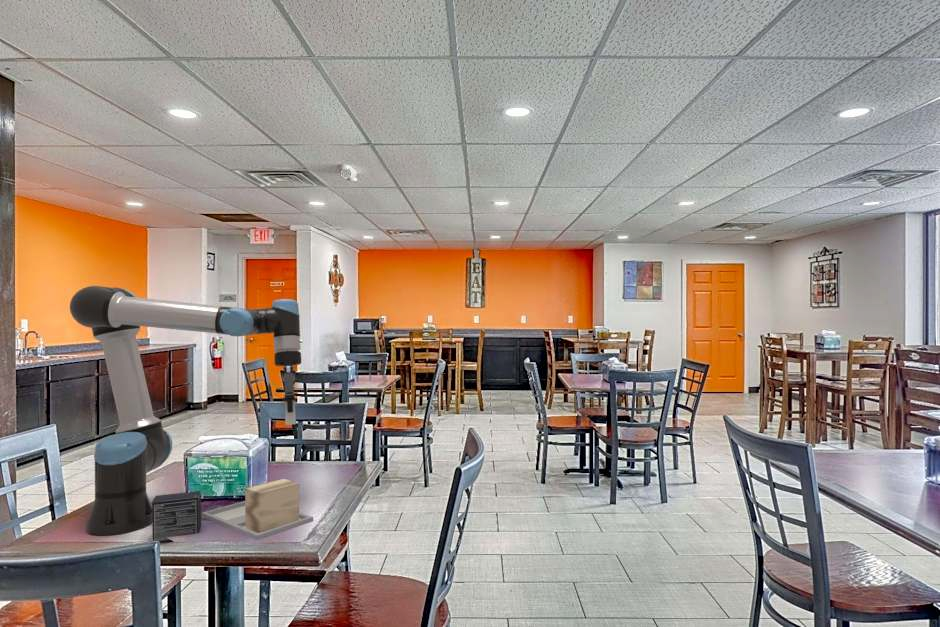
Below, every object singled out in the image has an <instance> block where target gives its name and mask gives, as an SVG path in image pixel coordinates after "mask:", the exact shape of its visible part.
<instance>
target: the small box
mask: <svg viewBox="0 0 940 627" xmlns="http://www.w3.org/2000/svg"><path fill="white" fill-rule="evenodd" d="M151 506H152V523H151V524H152V527H151V528H152V531H151V532H152V534H151V536H152V541H159V542H160V543H161V544H160V545H162V543H164V544H169V543H170V542H171V543H175V541H174V540H172V539H170V538H171V537H178V536H179V537H180V536H187V535H193V534H194V535H195V534H200V532H201V527H202V518H201V513H202V491H201V490H196V491H188V492H187V491H186V492H179V493H169V494H160V495H155V497H154V498H153V499H152V502H151Z"/></svg>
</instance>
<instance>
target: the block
mask: <svg viewBox="0 0 940 627" xmlns="http://www.w3.org/2000/svg"><path fill="white" fill-rule="evenodd" d="M244 491H245V492H244V498H245V500H244V501H245V528H247V529H249V530H252V531H254V532H257V533H261V532H264V531H267V530H271V529H274V528H277V527H280V526H283V525H286V524H289V523H292V522H295V521H298V520H299V512H300V483H299V482H297V481H293V480H289V479H286V478H281V479H276V480H273V481H268V482H264V483H260V484H257V485H253V486H249V487H246V488H245V490H244Z"/></svg>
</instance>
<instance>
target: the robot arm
mask: <svg viewBox="0 0 940 627" xmlns="http://www.w3.org/2000/svg"><path fill="white" fill-rule="evenodd" d="M69 311H70V312H69V313H70V314H71V317H72V318H73V319H74V320H75V321H76V322H77V323H78V324H79V325H81V326H84V327H85V328H89V329H91V330H92V335H93V339H95V340H97V341H99V343H101V346H102V350H103V356H104V360H105V364H106V368H107V372H108V376H109V377H108V378H109V381H110V385H111V390H112V394H113V399H114V403H115V408H116V412H117V416H118V417H117V418H118V422H119V425H118V427H117V428H116V430H115V434H111V435H108V436H105V437H102V438H101V439H99V440H98V441H97V443H96V444H95V450H94V455H93V459H94V501H93V504H92V507H91V509H90V513H89V515H88V518H87V521H86V532H87V533H88V534H90V535H97V536H112V535H120V534H125V533H130V532H134V531H137V530H140V529H143V528H145V527H148V526H149V525H151V524H152V502H150V498H149V496H148V493H147V473H149V472H152V471H155V470H156V469H158V468H159V467H161V466H162V465H163V464H164V463H165V462H166V461H167V460H168V458H169V457H170V455H171V453H172V451H173V440H172V437H171V435H170V433H169V432H168V431H166V430H165V429H164V428H163V425H162V420H161V419H160V418H159V417H156V416H155V415H154V411H153V406H152V402H151V397H150V393H149V389H148V384H147V381H146V376H145V371H144V367H143V362H142V359H141V354H140V350H139V344H138V342H137V335H138V334H139V333H140V331H141V327H145V328H146V327H148V328H157V329H166V330H167V329H168V330H178V331H187V332H199V333H208V334H218V335H227V336H230V337H243V336H244V337H245V336H251V335H252V336H253V335H262V334H263V335H265V334H273V351H274V352H275V353H274V354H273V355H274V366H276V367H283V370H282V371H280V372H281V373H280V374H281V379H282V386H284V395H283V396H284V397H281V400H282V402H284V415H285V416H284V418H285V419H284V420H285V421H284V422H285V426H290V425H291V426H292V425H296V424H297V422H296V417H297V416H296V403H297V398H295V396H296V395H295V386H294V385H295V384H296V377H297V374H296V370H294V366H299V365H301V364H302V352H300V350H302V348H301V344H302V343H303V339H301V330H300V329H301V327H300V326H301V324H300V319H301V318H300V316H301V315H300V310H299V302H297V300H294V299H291V298H290V299H289V298H281V299H275V300H273V301H272V306H271V307H267V308H253V309H252V308H241V307H232V306H220V305H210V304H204V303H203V304H202V303H192V302H191V303H190V302H181V301H173V300H165V299H164V300H162V299H154V298H145V297H137V296H136V295H135V294H134V293H132V292H131V291H129V290H126V289H124V288H122V287H121V288H119V287H108V286H100V285H91V286H86V287H83V288H81V289H79V290H78V291H76V292H75V294H74V295H73V296H72V297H71V300H70V303H69Z"/></svg>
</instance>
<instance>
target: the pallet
mask: <svg viewBox="0 0 940 627" xmlns="http://www.w3.org/2000/svg"><path fill="white" fill-rule="evenodd" d="M201 519H206V520H208V521H211V522H213V523H216V524H219V525H220V526H222V527H225V528H227V529H230V530H232V531H234V532H237V533H239V534H242V535H245V536H247V537H249V538H251V539H254V540H257V541H258V540H262V539H264V538H267V537H270V536H273V535H277V534H279V533H281V532H286V531H287V530H290V529H293V528H296V527H300V526H303V525H306V524H308V523H312V522H314V517H313V516H311V515H308V514H305V513H302V512H300V511H299V520H298V521H295V522H292V523H289V524H286V525H283V526H280V527H277V528H274V529H271V530H267V531H264V532H261V533H257V532H254V531H252V530H249V529H247V528H245V500H243V501H239V502H236V503H232V504H228V505H225V506H221V507H218V508H213V509H210V510H207V511H201Z"/></svg>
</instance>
